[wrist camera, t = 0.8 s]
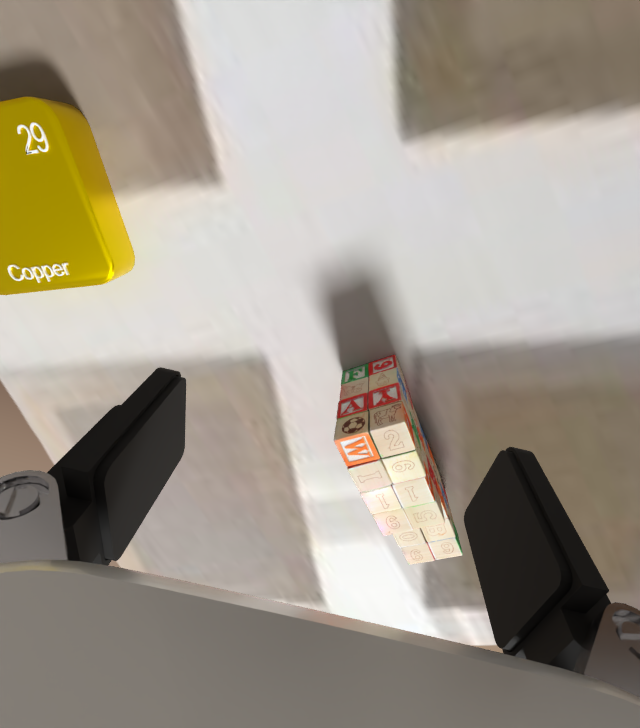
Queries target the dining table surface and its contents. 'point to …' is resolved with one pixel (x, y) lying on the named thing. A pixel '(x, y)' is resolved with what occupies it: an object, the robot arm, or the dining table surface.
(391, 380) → the stack of blocks
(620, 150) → the dining table surface
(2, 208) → the element tile
